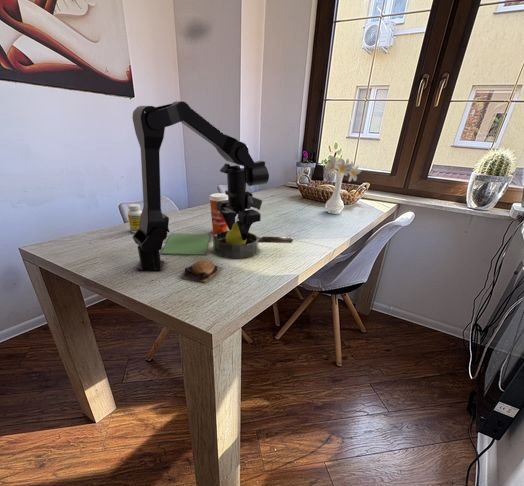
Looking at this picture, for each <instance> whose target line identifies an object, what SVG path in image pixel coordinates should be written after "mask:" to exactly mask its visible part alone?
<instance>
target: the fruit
mask: <svg viewBox="0 0 524 486" xmlns="http://www.w3.org/2000/svg"><path fill="white" fill-rule="evenodd" d="M237 221H238V216H236V220H235V223H234V224H233V226H232V229H231V230H227V231H228V233H227V234H226V243H227V244H231V245H245V243H246V240H244V241H243V240H242V237H241V234H240V231H239V228H238V225H237Z"/></svg>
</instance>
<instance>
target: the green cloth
mask: <svg viewBox="0 0 524 486" xmlns="http://www.w3.org/2000/svg"><path fill="white" fill-rule="evenodd" d="M209 239H210V234H203V233H202V234H200V233H199V234H197V233H196V234H195V233H170V236H169V237H168V240H167V242H166V243H165V246H164V247H163V249H162V251H161V254H160V255H174V256H175V255H179V256H180V255H181V256H182V255H183V256H206V254H207V250H208V245H209Z"/></svg>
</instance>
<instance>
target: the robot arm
mask: <svg viewBox="0 0 524 486" xmlns="http://www.w3.org/2000/svg"><path fill="white" fill-rule="evenodd" d="M131 118H132V124H133V127H134V133H135V136H136V139H137V141H138V144H139V145H138V146H139V149H140V164H141V183H142V200H143V201H142V202H143V203H142V204H143V206H142V210H141V211H142V213H141V216H140V223H139V229H138V230H137V232H136V233H133V235H132V239H133V241H134V243H135V244H136V245H137V251H138V259H139V265H138V267H137V268H136V270H137V271H138V272H139V271H140V272H141V271H143V272H144V271H146V272H160V271H162V268H163V267H164V264H165V260H162V259H161V254H160V251H161V250H163V249H162V248H163V244H164V241H165V240H166V239H167V237H168V233H170V232H171V231H170V229H169V223H170V218H169V216H168V215H166V214H165V213H163V211H162V199H161V197H162V196H161V195H162V194H161V162H160V161H161V159H160V151H161V147H162V144H163V141H164V138H165V132H166V131H165V130H166V128H167V127H171V126H174V125H176V124H178V123H181V124H182V125H184V126H185V127H187V129H189V130H191V131H192V132H194V133H195V134H197V135H198V136H199V137H201V138H202V139H203V140H205V141H206V142H208V143H209V144H210V145H211V146H213V147H214V149H216V151H217V153H218V154H219V155H220V156H221V157H222V158H223V159H224V160H225V161H226V162H228V163H224V164H223V166H222V167H221V168H220V169H219V172H220V173H223V174H226V183H227V184H226V185H227V190H224V192H225V193H224V194H226V195H228V200H223V201H218V203H217V204H216V207H217V210H218V211H220V214H221V215H222V217H223V219H224V221H225V223H226V224H227V226H228V231H230V230H231V229H232V226H233V224H234V223H235V222H236V221H237V225H238V228H239V231H240V234H241V237H242V240H243V241H244V240H246V238H247V235H248V232H249V233H250V229H251V226H252V225H253V224H255V223H257V222H261V219H262V217H261V216H262V214H261V213H260V212H259V211H261V208H262V204H263V199H260V198H257V197H255V196H254V195H253V193H252V192H249V190H247V186H248V187H254V186H260V185H266V184H267V183H268V182H269V180H270V173H269V170H268V168H267V166H266V161H264V160H257V161H254V160H253V158H252V156H251V154H250V151H249V146H248V145H247V144H246V143H245V142H243V141H241V140H240V139H238V138H235V137H232V136H230V135H228V134H226V133H224V132H223V131H221V130H220V129H219V128H218V127H217V126H215V125H214V124H213V123H211V122H210V121H209V120H207V119H206V118H205V117H204V116H202V115H201V114H199V113H198V112H197V111H196V110H195V109H194V108H192V107H191V106H190V105H189V104H188V102H186V101H182V100H181V101H180V100H179V101H173V102H171V103H168V104H163V105H158V106H153V105H138V106H137V107H136V108H135V109H134V110H133V111H132V117H131ZM229 163H232V164H235V165H230V164H229ZM240 166H241V167H240ZM251 208H252V209H251ZM221 211H222V212H221ZM237 217H238V219H237V220H236V218H237Z"/></svg>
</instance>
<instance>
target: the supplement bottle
mask: <svg viewBox="0 0 524 486" xmlns="http://www.w3.org/2000/svg"><path fill="white" fill-rule="evenodd" d="M127 208H128V211H127V217H128V223H129V228H130V231H131V233H133V234H135V233H136V232H137V230H138V229H139V223H140V216H141V213H142V210H141V205H140V204H138V203H129V204H128V205H127Z"/></svg>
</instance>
